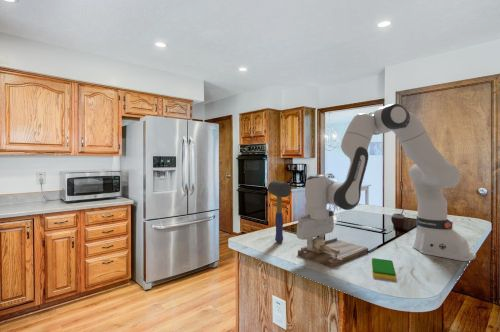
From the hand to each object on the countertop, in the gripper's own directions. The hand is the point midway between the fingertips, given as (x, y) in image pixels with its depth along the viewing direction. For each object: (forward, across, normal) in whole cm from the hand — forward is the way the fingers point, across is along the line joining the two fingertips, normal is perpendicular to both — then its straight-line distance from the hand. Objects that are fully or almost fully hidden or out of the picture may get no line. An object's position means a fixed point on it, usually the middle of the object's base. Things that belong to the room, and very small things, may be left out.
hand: (315, 246), depth 117 cm
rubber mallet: (+4, +1, +23) cm, 23 cm away
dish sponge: (+5, +7, -25) cm, 27 cm away
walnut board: (+4, +8, -3) cm, 10 cm away
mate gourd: (+4, +74, -1) cm, 74 cm away
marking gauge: (+2, 0, -4) cm, 5 cm away
